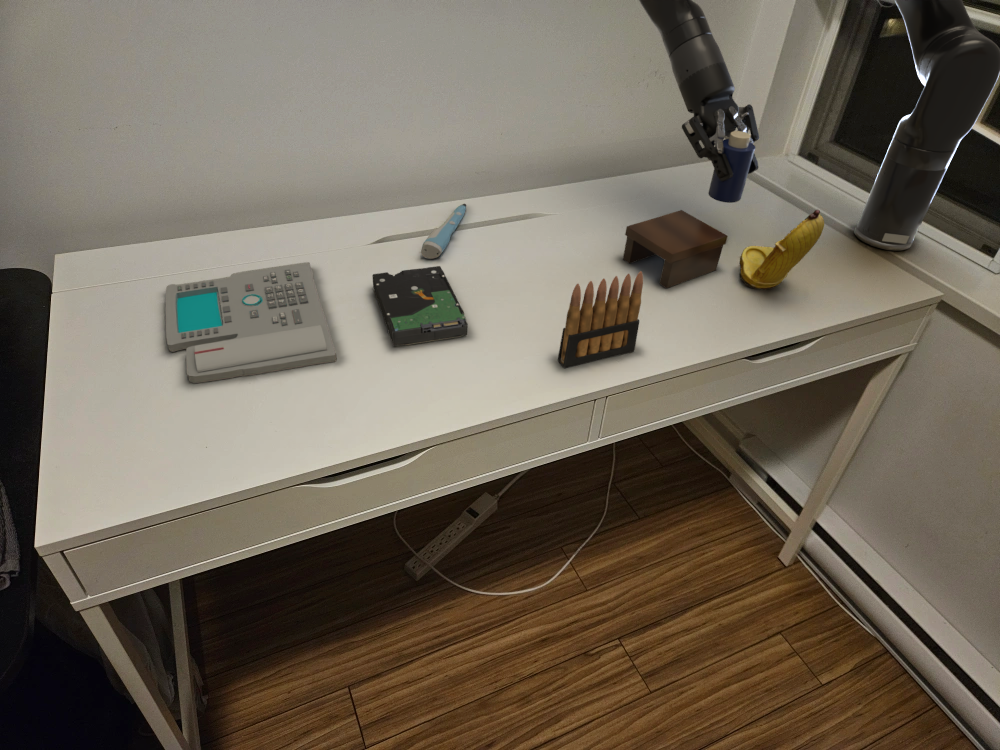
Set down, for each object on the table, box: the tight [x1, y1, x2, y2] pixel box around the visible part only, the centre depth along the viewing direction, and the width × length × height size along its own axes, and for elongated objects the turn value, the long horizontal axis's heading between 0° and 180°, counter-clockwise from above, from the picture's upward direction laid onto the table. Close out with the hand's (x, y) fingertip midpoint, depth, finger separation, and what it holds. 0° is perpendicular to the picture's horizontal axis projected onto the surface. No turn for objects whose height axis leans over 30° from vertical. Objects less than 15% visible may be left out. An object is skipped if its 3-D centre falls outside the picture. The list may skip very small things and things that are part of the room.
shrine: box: [738, 209, 825, 291], centre depth 103 cm, size 12×8×15 cm
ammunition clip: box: [557, 270, 644, 369], centre depth 88 cm, size 11×2×12 cm, turn 113°
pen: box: [420, 203, 467, 260], centre depth 115 cm, size 19×3×3 cm, turn 166°
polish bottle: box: [707, 130, 756, 203], centre depth 109 cm, size 5×5×10 cm
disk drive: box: [372, 265, 469, 347], centre depth 96 cm, size 10×3×15 cm
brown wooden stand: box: [622, 209, 729, 289], centre depth 109 cm, size 12×10×6 cm
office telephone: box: [165, 261, 338, 384], centre depth 92 cm, size 23×3×20 cm
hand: (740, 174), depth 108 cm, fingers closed on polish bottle, 5 cm apart
